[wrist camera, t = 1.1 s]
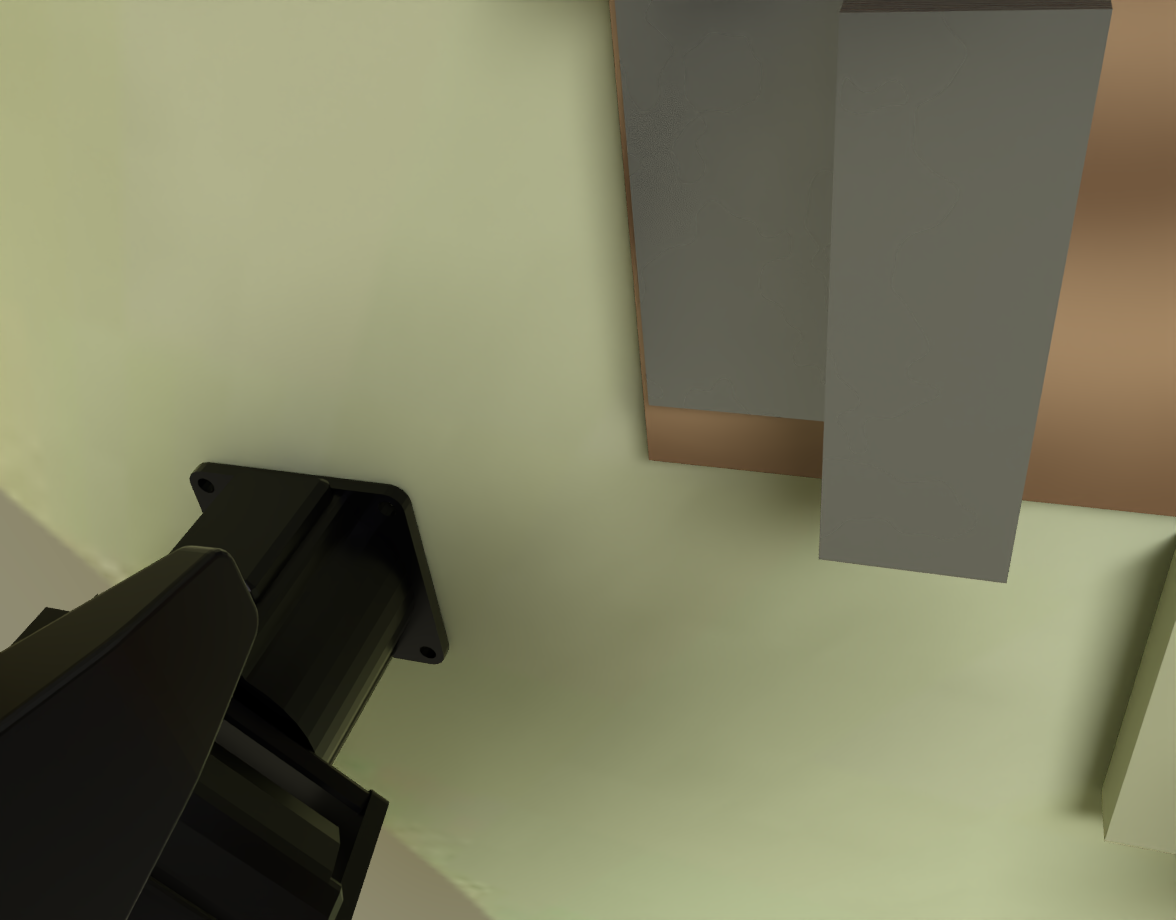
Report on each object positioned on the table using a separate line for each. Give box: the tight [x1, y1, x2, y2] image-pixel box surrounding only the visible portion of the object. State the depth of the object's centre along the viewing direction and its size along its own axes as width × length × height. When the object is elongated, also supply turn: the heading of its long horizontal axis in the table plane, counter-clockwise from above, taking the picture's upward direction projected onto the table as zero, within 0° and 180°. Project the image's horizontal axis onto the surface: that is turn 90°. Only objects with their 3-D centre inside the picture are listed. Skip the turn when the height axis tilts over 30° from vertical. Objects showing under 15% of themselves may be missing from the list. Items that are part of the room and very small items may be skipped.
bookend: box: [615, 0, 1113, 583], centre depth 18 cm, size 9×7×4 cm
